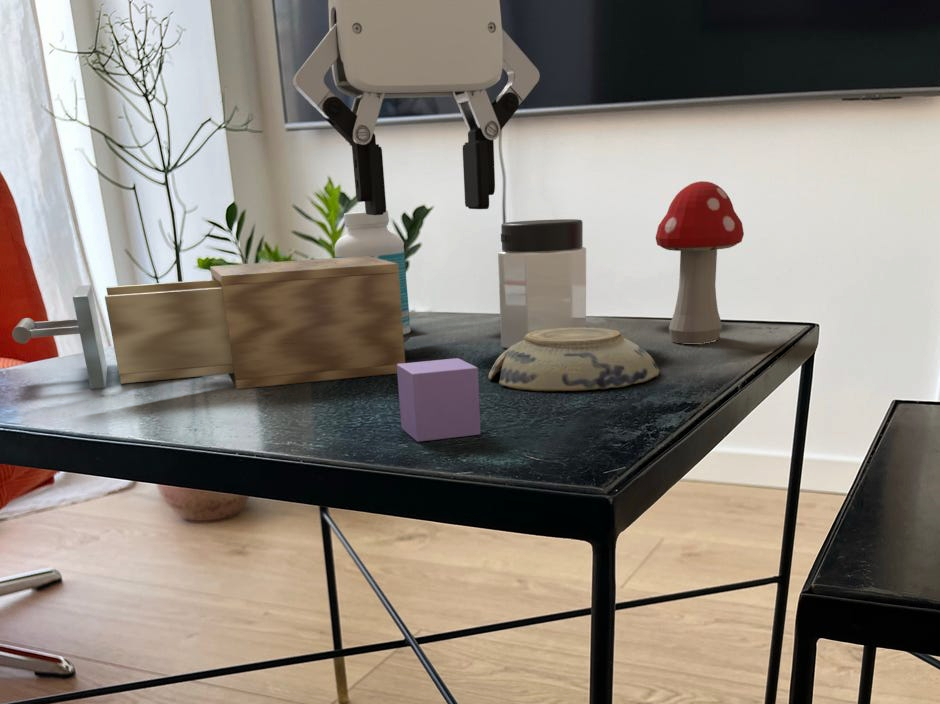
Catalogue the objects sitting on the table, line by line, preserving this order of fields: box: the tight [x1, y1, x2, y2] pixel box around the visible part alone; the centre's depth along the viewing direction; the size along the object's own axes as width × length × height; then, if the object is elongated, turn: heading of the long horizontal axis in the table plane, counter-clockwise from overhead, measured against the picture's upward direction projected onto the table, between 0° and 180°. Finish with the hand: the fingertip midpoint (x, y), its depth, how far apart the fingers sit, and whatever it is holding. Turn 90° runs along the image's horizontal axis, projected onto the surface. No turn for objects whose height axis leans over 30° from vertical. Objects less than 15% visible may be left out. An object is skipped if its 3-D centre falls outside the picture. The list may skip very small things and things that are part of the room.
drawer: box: [11, 279, 234, 390], centre depth 92 cm, size 20×11×8 cm, turn 108°
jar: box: [497, 218, 587, 350], centre depth 103 cm, size 9×8×12 cm
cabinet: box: [209, 256, 406, 390], centre depth 96 cm, size 16×13×10 cm
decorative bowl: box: [487, 327, 660, 393], centre depth 89 cm, size 15×4×15 cm
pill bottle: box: [334, 209, 411, 343], centre depth 110 cm, size 8×7×14 cm
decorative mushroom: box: [655, 180, 745, 344], centre depth 102 cm, size 10×9×15 cm
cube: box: [396, 357, 482, 443], centre depth 71 cm, size 5×5×5 cm
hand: (427, 208), depth 66 cm, fingers open, 6 cm apart
